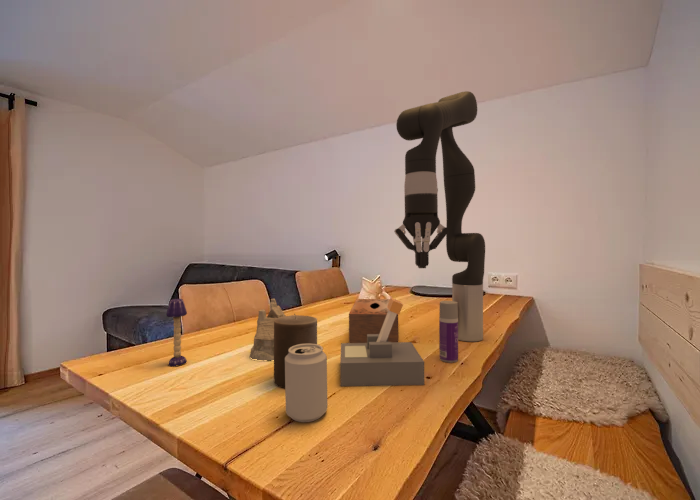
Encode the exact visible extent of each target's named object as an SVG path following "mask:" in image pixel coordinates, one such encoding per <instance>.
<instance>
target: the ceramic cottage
mask: <svg viewBox="0 0 700 500" xmlns="http://www.w3.org/2000/svg"><path fill="white" fill-rule="evenodd" d="M269 309H270V310H269V312H268V314H267V313H266V310H265V309H259V310H258V317H257V320H256V332H255V334H254V337H253V345H252V347H251V348H250V352H249V358H250V357H251V358H252V359H257V360H274V320H275V319H276V318H279V317H284V316H287V315H286V314H285V313H284V312H285V311H283V310H282V308H281V306H280V305H278V304H277V301H276V299H275V298H271V299H270V303H269ZM252 359H251V360H252Z"/></svg>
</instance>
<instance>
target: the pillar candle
mask: <svg viewBox="0 0 700 500" xmlns="http://www.w3.org/2000/svg"><path fill="white" fill-rule="evenodd" d="M298 344H317V345H318V318H317V317H314V316H311V315H299V314H298V315H296V313H294V314H293V315H292V314H291V315H286V316H284V317H279V318H276V319H275V320H274V361H273V383H274V384H275V386H277V387H280V388H283V389H285V357H286V356H287V355H288V353H289V352H288V349H289V348H290V347H292V346H295V345H298Z"/></svg>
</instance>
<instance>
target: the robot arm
mask: <svg viewBox="0 0 700 500" xmlns="http://www.w3.org/2000/svg"><path fill="white" fill-rule="evenodd" d="M477 102H478V101H477V99H476V96H475V94H474V93H473V92H471V91H467V90H465V91H461V92H458V93H454V94H451V95H447V96H444V97H442V98H439V100H438V101H437V102H432V103H426V104H422V105H419V106H414V107H411V108H408V109H405V110H403V111H402V112H400V114H398V117H397V119H396V124H395V125H396V131H397V133H398V135H399V137H401V138H402V139H403V140H405V141H408V142H409V141H416V140H421V139H422V140H421V142H420V143H419V144H417V145H416V146H414V147H412V148H411V149H410V148H409V149H408V150H407V151H406V152H405V157H404V167H405V168H404V172H405V173H404V174H405V175H404V186H403V187H404V190H403V191H404V217H403V218H404V219H403V220H402V224H401V225H400V226H399V227H398V228H395V229H394V234H395V235H396V236H397V238H398V239H400V241H401V243H402V244H403V245H404V246H405V247H406V248H407V249H408V250H409V251H410V250H411V251H412V252H414V253H415V254H414V257H415V258H414V260H415V262H414V263H415V265H416V266H417V268H418V269H426V268H427V267H428V266H429V263H430V262H429V261H430V260H429V257H430V256H429V255H430V254H429V253H430V252H431V251H432V250H436V249H437V247H438V246H439V245H440V244H441V243H442V242H443V239H445V240H446V241H445V247H446V253H447V256H448V259H449V260H451V261H452V262H454V263H455V262H456V263H467V266H466V268H465V269H463V270H461V271H460V272H455V273H454V274H453V275H452V278H451V284H452V285H451V288H452V291H451V292H452V294H451V295H452V297H451V298H452V299H451V301H455V302H457V303H458V341H462V342H479V341H483V339H484V276H485V262H486V241H485V238H484V236H483V234H482V233H480V232H464V233H463V230H462V229H463V228H462V226H463V219H464V215H465V213H466V211H467V209H468V208H469V206H470V203H471V202H472V200H473V197H474V195H475V192H476V174H475V167H474V165H473V164H472V162H471V161H470V159H469V158H468V156H467V155H466V154H465V153H464V152H463V151H462V149H461V148H460V147H459V145H458V144H457V141H456V139H455V137H454V131H453V128H457V127H460V126H465V125H467V124H470V123H472V122H473V121H475V120H476V118H477V116H478V103H477ZM439 143H441V144H440V145H441V153H442V170H443V171H442V173H443V176H442V177H443V186H444V187H443V188H444V197H445V211H446V212H445V213H446V214H445V215H446V224H445V225H446V227H445V226H444V224H441V220H440V219H439V215H438V214H439V210H438V206H439V205H438V192H439V188H438V178H437V152H438V147H439ZM406 231H407V232H408V233H409V235H410V236H411V237H412V240H413V243H412V241H410V239H409V238H408V237H407V236H406V234H407V232H406ZM435 231H436V236H435V237H434V238H433V239H432V240H431V237H432V235H433V234H434V233H435Z"/></svg>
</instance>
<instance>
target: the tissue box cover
mask: <svg viewBox="0 0 700 500" xmlns="http://www.w3.org/2000/svg"><path fill="white" fill-rule="evenodd" d="M394 299H395V300H397V299H396V298H394ZM389 301H390V298H356V299H355V301H354V303H353V304H352V307H351V309H350V310H349V313H348V343H367V334H380V331H381V328H382V326H383V323H384V320H385V318H386V315H387V313H388V310H389V309H388V308H387V306H388V303H389ZM388 342H399V314H397V315H396V317H395V320H394V323H393V325H392V328H391V330H390V333H389V336H388Z"/></svg>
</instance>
